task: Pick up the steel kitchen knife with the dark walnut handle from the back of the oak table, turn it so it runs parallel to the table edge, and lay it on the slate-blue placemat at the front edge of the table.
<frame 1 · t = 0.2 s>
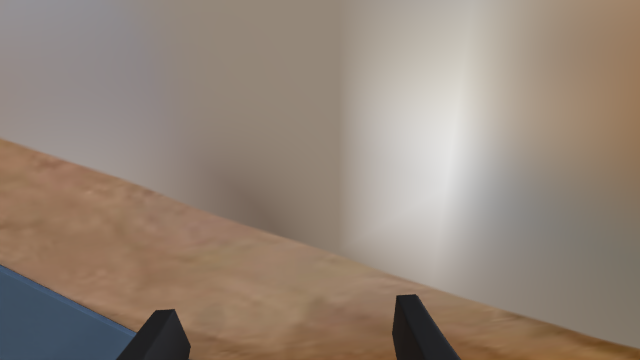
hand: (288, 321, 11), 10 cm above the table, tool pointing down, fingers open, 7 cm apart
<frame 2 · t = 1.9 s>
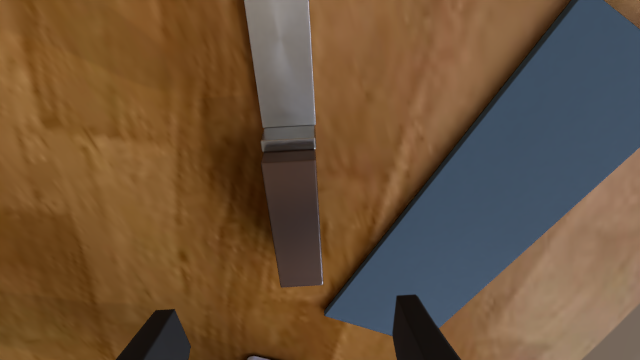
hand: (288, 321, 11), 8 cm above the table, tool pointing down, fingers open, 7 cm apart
mat: (474, 219, 20), on the table
knife: (295, 185, 18), on the table
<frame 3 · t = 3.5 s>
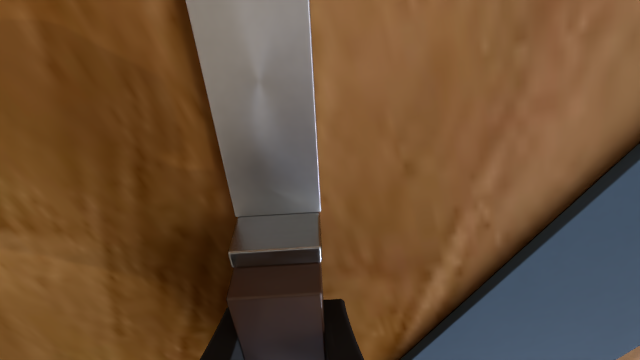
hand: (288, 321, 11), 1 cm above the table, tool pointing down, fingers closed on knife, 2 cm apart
mat: (548, 323, 14), on the table
knife: (289, 287, 12), on the table, touching gripper
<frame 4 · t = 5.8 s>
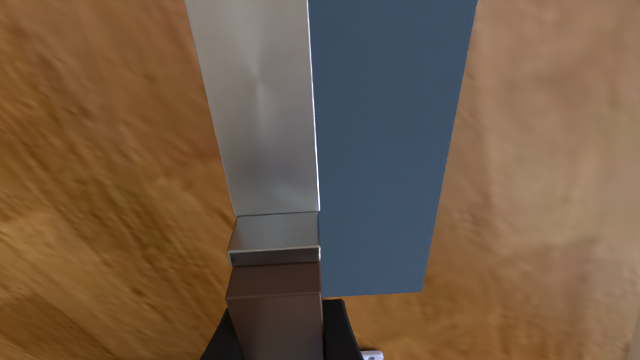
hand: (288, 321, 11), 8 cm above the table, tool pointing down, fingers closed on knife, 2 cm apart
mat: (363, 140, 17), on the table
knife: (289, 286, 12), point 7 cm above the table, touching gripper
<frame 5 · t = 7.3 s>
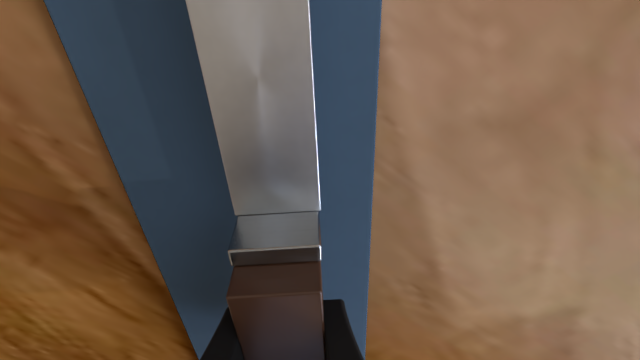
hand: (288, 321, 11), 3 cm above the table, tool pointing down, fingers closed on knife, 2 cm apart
mat: (256, 203, 12), on the table
knife: (289, 286, 12), point 2 cm above the table, touching gripper
when the fingers open (2 cm above the table, at t = 8.1 s): knife stays where it is, resting on mat.
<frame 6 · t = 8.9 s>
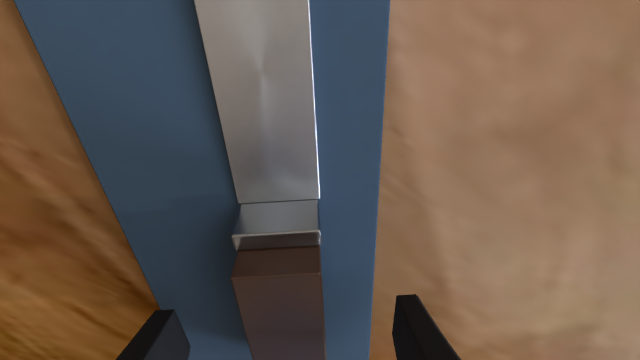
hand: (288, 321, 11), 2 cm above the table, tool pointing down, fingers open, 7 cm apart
mat: (252, 218, 11), on the table
knife: (290, 273, 12), resting on mat
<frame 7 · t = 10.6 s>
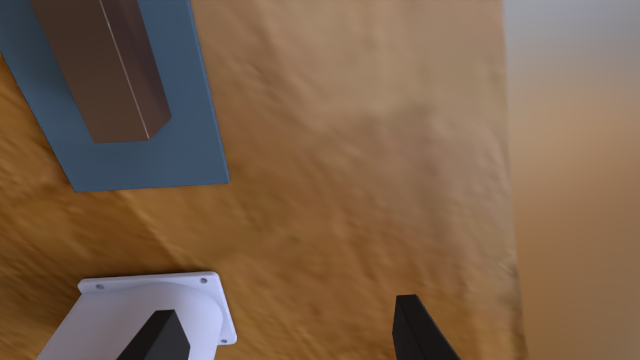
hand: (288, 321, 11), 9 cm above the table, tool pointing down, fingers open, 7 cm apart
knife: (110, 5, 14), resting on mat
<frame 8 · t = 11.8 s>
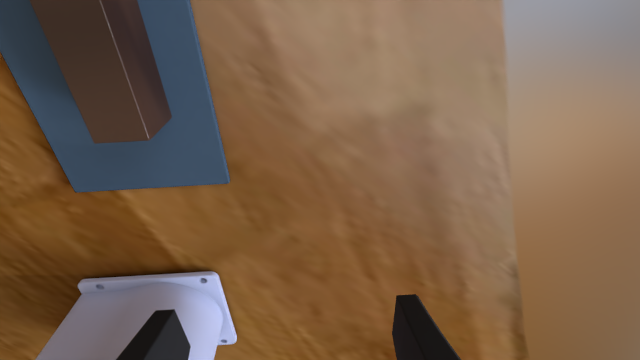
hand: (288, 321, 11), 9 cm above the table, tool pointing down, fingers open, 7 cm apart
knife: (110, 5, 14), resting on mat
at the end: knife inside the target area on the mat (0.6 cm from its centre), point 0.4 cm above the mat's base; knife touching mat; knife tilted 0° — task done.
